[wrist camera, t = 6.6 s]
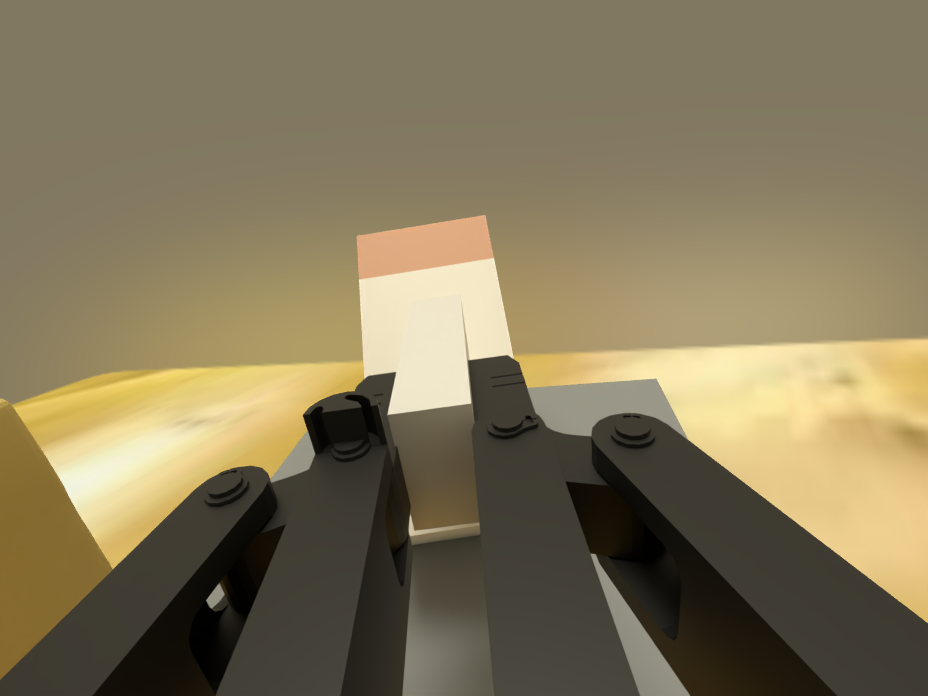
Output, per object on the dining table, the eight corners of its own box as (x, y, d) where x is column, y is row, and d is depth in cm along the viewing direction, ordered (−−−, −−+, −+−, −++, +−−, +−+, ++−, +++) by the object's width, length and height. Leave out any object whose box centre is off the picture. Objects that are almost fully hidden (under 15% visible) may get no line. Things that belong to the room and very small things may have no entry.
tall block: (373, 541, 14) (356, 235, 18) (406, 546, 18) (386, 300, 23) (544, 515, 14) (485, 215, 18) (534, 526, 18) (489, 284, 23)
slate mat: (107, 719, 14) (98, 707, 14) (331, 410, 31) (329, 402, 31) (844, 762, 11) (847, 747, 11) (656, 388, 27) (656, 378, 27)
